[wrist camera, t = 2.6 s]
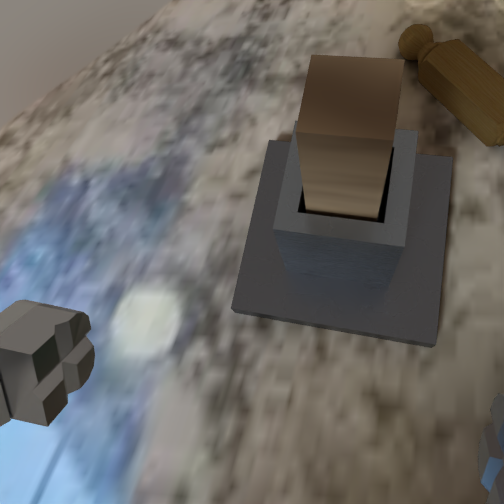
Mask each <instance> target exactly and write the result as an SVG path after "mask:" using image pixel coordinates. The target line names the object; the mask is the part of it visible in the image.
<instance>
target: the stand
mask: <svg viewBox="0 0 504 504" xmlns="http://www.w3.org/2000/svg"><path fill="white" fill-rule="evenodd" d="M297 122H298V121H295V125H294V130H293V135H292V140H291V142H286V141H275V140H269V142H268V147H267V151H266V156H265V160H264V165H263V169H262V173H261V178H260V182H259V187H258V191H257V195H256V200H255V204H254V209H253V213H252V218H251V222H250V226H249V231H248V235H247V240H246V244H245V248H244V253H243V257H242V262H241V266H240V271H239V275H238V279H237V284H236V288H235V293H234V297H233V301H232V306H231V309H232V310H233V311H234V312H235V313H240V314H246V315H251V316H257V317H263V318H268V319H274V320H279V321H285V322H290V323H296V324H302V325H307V326H313V327H318V328H324V329H330V330H335V331H341V332H346V333H352V334H357V335H363V336H369V337H374V338H380V339H385V340H391V341H396V342H402V343H408V344H413V345H419V346H424V347H430V348H432V347H433V346H435V345H436V339H437V328H438V317H439V306H440V295H441V284H442V273H443V262H444V251H445V240H446V229H447V218H448V207H449V196H450V185H451V174H452V164H453V157H446V156H436V155H425V154H416V148H417V139H418V131H414V130H402V129H395V135H394V142H393V146H392V151H391V156H390V161H389V165H388V170H387V175H386V179H385V184H384V189H383V193H382V198H381V203H380V208H379V212H378V217H377V222H370V221H362V220H354V219H346V218H338V217H330V216H322V215H314V214H307V213H306V206H305V199H304V191H303V184H302V176H301V169H300V162H299V154H298V147H297V139H296V127H297Z"/></svg>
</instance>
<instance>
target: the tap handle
mask: <svg viewBox="0 0 504 504" xmlns="http://www.w3.org/2000/svg"><path fill="white" fill-rule="evenodd" d="M398 46H399V50H400V53H401V55H402V56H403V57H404V58H405V59H407V60H418V67H419V71H418V79H419V82H420V83H421V84H422V85H423V86H424V87H425V88H426V89H427V90H428V91H429V92H430V93H431V94H432V95H433V96H434V97H435V98H436V99H437V100H438V101H440V102H441V103H442V104H443V105H444V106H445V107H446V108H447V109H448V110H449V111H450V112H451V113H452V114H453V115H454V116H455V117H456V118H457V119H458V120H459V121H461V122H462V123H463V124H464V125H465V126H466V127H467V128H468V129H469V130H470V131H471V132H472V133H473V134H474V135H475V136H476V137H477V138H478V139H479V140H481V141H482V142H483V143H484V144H485V145H486V146H495V145H498V146H502V145H504V78H503V77H502V76H501V75H499V74H498V73H497V72H496V71H495V70H494V69H493V68H491V67H490V66H489V65H488V64H487V63H486V62H484V61H483V60H482V59H481V58H480V57H479V56H478V55H476V54H475V53H474V52H473V51H472V50H471V49H469V48H468V47H467V46H466V45H465V44H464V43H463V42H461V41H460V40H459V39H455V40H449V41H446V42H443V43H442V42H436V43H433V33H432V31H431V29H430V28H429V27H428V26H426V25H422V24H414V25H411V26H410V27H408V28H407V29H406V30H405V31H404V32H403V33H402V34H401V37H400V39H399V42H398Z"/></svg>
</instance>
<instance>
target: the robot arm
mask: <svg viewBox="0 0 504 504" xmlns="http://www.w3.org/2000/svg"><path fill="white" fill-rule="evenodd" d="M90 330H91V326H90V321H89V316H88V315H86V314H85V313H84V312H81V311H76V310H72V309H67V308H63V307H58V306H54V305H49V304H45V303H44V304H42V303H39V302H34V301H29V300H19V301H16V302H15V303H13V304H12V305H10V306H9V307H8V308H6V309H5V310H4V311H2V312H1V313H0V426H2V425H4V424H5V423H7V422H9V421H10V420H11V419H16V420H20V421H25V422H29V423H34V424H38V425H42V426H47V427H48V426H49V425H50V423H51V422H52V421H53V420H54V419H55V418H56V416H57V415H58V414H59V413H60V412H61V411H62V409H63V408H64V407H65V406H66V405H67V404H68V394H69V393H71V392H74V391H76V390H78V389H80V388H81V387H82V386H83V385H84V383H85V382H86V381H87V380H88V378H89V376H90V374H91V371H92V369H93V366H94V359H95V352H94V346H93V344H92V343H91V342H90V340H89V339H88V338H87V337H86V335H87V334H88V333H89V331H90ZM490 411H491V415H492V420H493V423H492V424H490V425H488V426H487V427H485V428H484V429H483V432H482V436H481V439H480V442H479V451H478V470H479V476H480V482H481V483H482V484H483V486H484V487H485V488H486V489H487V490H488V491H489V496H488V498H487V501H486V504H504V394H501V393H498V394H497V396H496V397H495V398H494V401H493V403H492V406H491V409H490ZM10 418H11V419H10Z"/></svg>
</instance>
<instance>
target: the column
mask: <svg viewBox="0 0 504 504" xmlns="http://www.w3.org/2000/svg"><path fill="white" fill-rule="evenodd" d="M404 61H405V59H386V58H367V57H347V56H328V55H311V60H310V64H309V69H308V74H307V79H306V84H305V88H304V93H303V98H302V103H301V108H300V112H299V117H298V122H297V127H296V139H297V147H298V154H299V162H300V169H301V176H302V184H303V191H304V199H305V206H306V213H307V214H314V215H322V216H330V217H338V218H346V219H354V220H362V221H370V222H377V217H378V212H379V208H380V203H381V198H382V193H383V189H384V184H385V179H386V175H387V170H388V165H389V161H390V156H391V151H392V146H393V142H394V135H395V128H396V120H397V113H398V105H399V98H400V91H401V83H402V76H403V69H404Z"/></svg>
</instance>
